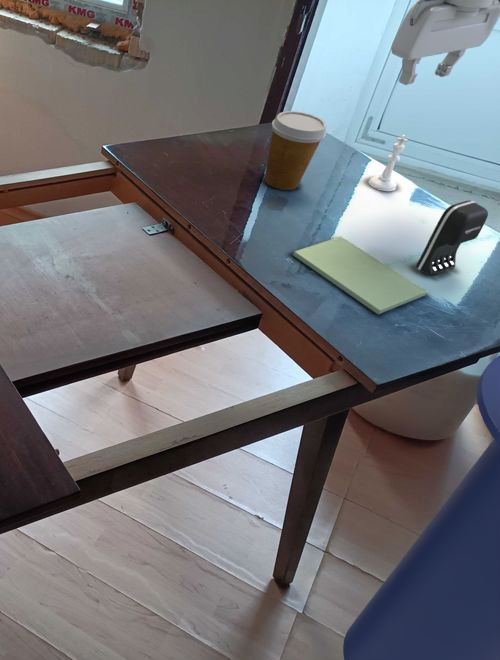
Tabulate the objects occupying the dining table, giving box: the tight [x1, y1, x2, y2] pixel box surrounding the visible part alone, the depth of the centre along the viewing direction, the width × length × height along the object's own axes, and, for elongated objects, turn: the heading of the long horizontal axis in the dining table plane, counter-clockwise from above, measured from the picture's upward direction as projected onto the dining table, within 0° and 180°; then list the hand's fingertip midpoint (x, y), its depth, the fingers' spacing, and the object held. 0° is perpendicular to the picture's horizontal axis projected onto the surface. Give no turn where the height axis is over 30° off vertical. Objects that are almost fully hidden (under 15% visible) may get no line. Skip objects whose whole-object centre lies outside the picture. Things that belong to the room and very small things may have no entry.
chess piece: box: [368, 134, 408, 192], centre depth 128 cm, size 5×5×10 cm
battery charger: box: [415, 200, 489, 277], centre depth 106 cm, size 7×4×11 cm, turn 118°
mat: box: [292, 236, 428, 315], centre depth 107 cm, size 17×11×1 cm, turn 30°
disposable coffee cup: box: [263, 110, 327, 191], centre depth 126 cm, size 10×10×12 cm
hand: (423, 79), depth 112 cm, fingers open, 8 cm apart
